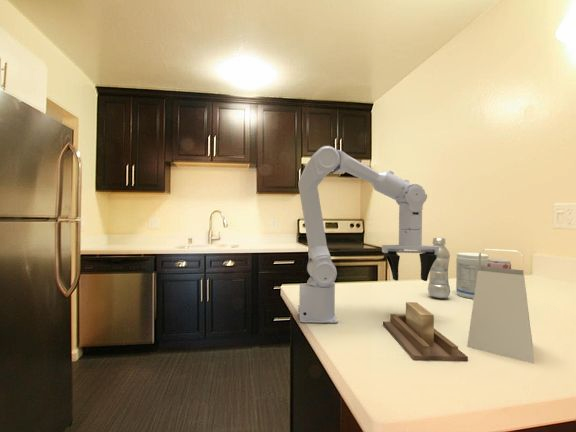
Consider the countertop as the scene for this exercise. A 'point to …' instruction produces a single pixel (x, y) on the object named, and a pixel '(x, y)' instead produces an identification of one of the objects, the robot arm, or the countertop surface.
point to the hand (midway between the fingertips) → (409, 280)
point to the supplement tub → (468, 272)
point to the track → (422, 342)
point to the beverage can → (499, 263)
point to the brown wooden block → (420, 321)
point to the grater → (501, 313)
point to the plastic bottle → (439, 272)
